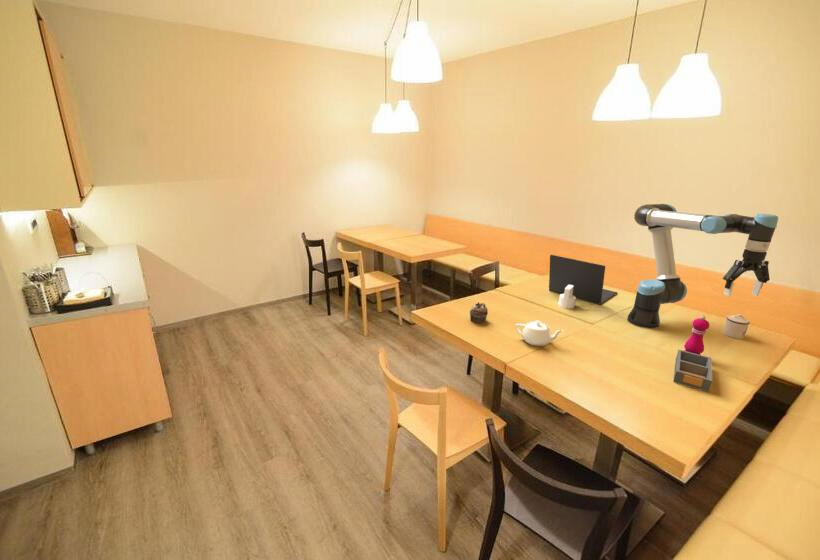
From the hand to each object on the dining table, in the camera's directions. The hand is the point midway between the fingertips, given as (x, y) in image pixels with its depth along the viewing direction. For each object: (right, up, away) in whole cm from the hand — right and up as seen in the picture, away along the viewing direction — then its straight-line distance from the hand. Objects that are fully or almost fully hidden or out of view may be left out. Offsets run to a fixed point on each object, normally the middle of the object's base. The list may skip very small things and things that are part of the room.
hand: (740, 295), depth 171 cm
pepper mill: (-22, -28, +1) cm, 36 cm away
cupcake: (-114, -15, +34) cm, 119 cm away
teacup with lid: (+16, -21, +23) cm, 35 cm away
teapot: (-89, -23, +11) cm, 93 cm away
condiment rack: (-33, -33, -14) cm, 48 cm away
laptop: (-38, -2, +77) cm, 86 cm away
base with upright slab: (-56, -9, +56) cm, 80 cm away
